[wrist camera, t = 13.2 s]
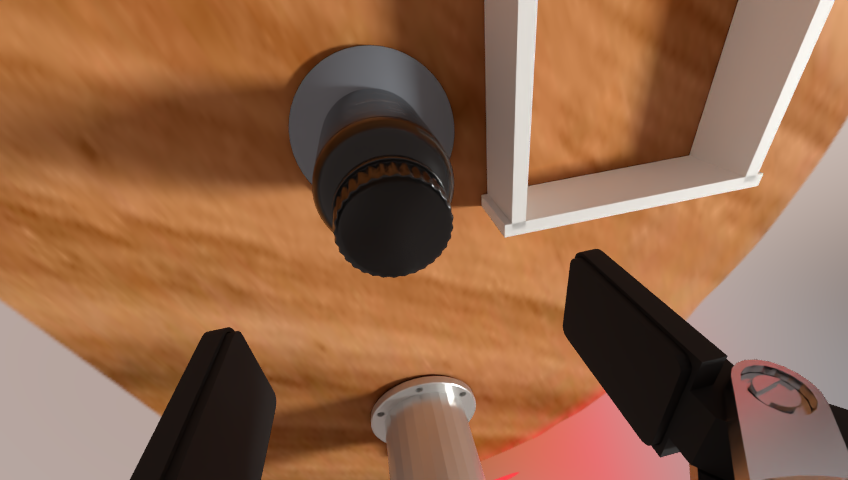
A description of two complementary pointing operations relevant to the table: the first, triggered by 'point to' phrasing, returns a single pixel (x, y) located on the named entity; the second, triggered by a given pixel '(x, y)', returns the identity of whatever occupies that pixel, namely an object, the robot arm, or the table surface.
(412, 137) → the supplement bottle
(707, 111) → the white u-shaped bracket
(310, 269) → the table surface
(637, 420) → the robot arm
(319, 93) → the mat
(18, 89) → the table surface
